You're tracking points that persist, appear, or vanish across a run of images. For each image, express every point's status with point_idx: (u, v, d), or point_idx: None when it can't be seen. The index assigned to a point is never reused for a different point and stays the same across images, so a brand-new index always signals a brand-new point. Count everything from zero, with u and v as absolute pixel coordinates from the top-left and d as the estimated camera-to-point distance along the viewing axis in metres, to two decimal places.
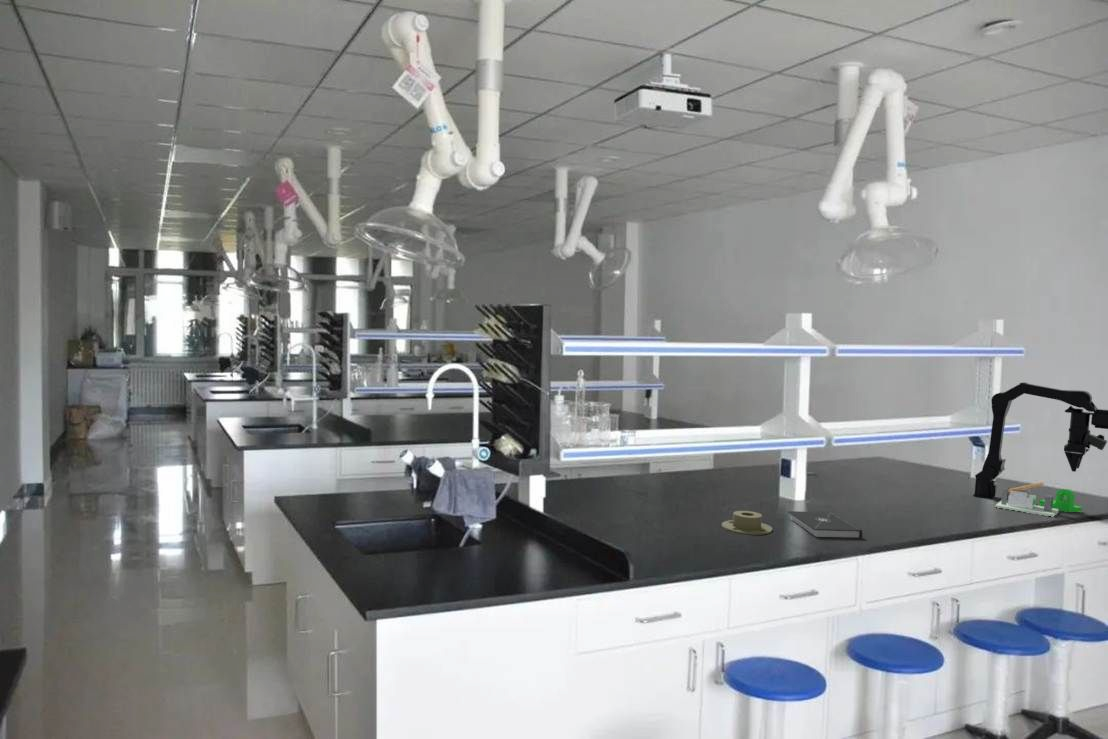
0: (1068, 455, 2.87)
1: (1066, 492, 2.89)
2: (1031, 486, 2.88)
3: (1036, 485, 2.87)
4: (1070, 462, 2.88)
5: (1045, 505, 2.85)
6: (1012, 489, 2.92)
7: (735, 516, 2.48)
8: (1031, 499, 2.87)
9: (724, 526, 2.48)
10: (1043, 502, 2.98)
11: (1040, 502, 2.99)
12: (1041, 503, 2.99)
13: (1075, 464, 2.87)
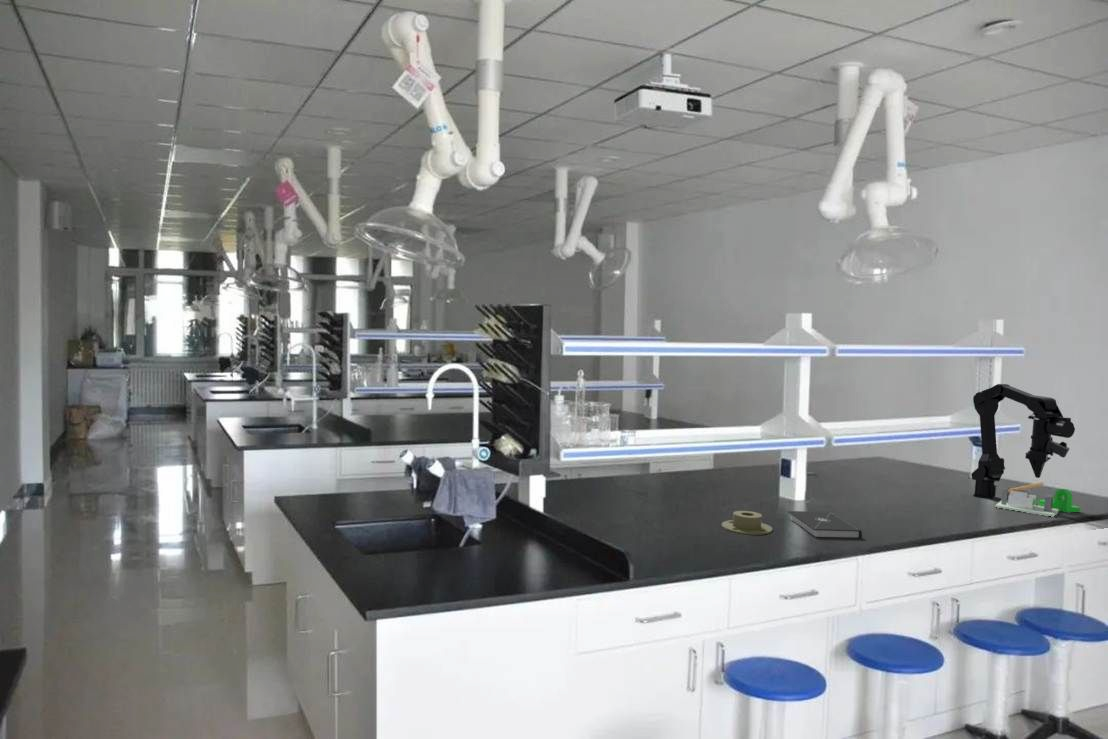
0: (1032, 461, 2.87)
1: (1064, 492, 2.89)
2: (1031, 486, 2.88)
3: (1036, 485, 2.87)
4: (1034, 468, 2.87)
5: (1045, 505, 2.85)
6: (1012, 489, 2.92)
7: (735, 516, 2.48)
8: (1031, 499, 2.87)
9: (724, 526, 2.48)
10: (1042, 502, 2.98)
11: (1039, 502, 2.99)
12: (1040, 503, 2.99)
13: (1039, 470, 2.86)
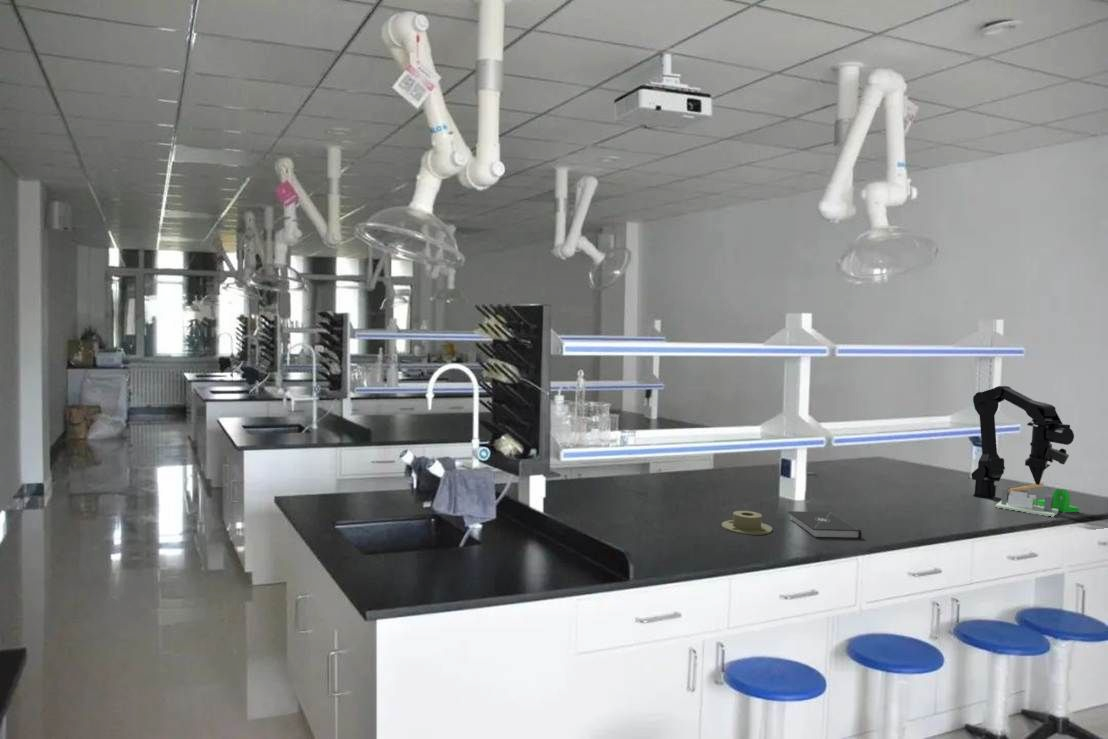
0: (1032, 468, 2.88)
1: (1062, 492, 2.89)
2: (1031, 487, 2.88)
3: (1036, 486, 2.87)
4: (1034, 475, 2.88)
5: (1045, 505, 2.85)
6: (1012, 489, 2.92)
7: (735, 516, 2.48)
8: (1031, 499, 2.87)
9: (724, 526, 2.48)
10: (1041, 502, 2.98)
11: (1038, 502, 2.99)
12: (1039, 503, 2.99)
13: (1039, 477, 2.87)
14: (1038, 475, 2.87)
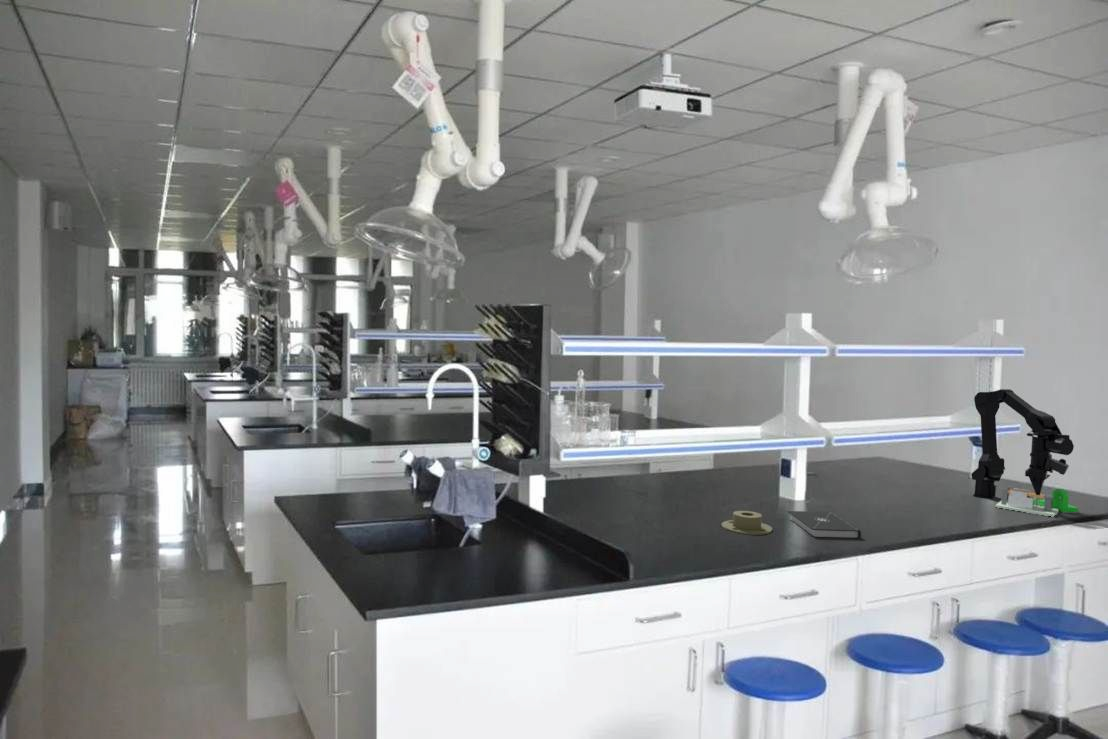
0: (1032, 478, 2.87)
1: (1060, 492, 2.89)
2: (1032, 495, 2.88)
3: (1038, 496, 2.87)
4: (1034, 485, 2.88)
5: (1045, 505, 2.85)
6: None
7: (735, 516, 2.48)
8: (1031, 499, 2.87)
9: (724, 526, 2.48)
10: (1041, 502, 2.98)
11: (1038, 502, 3.00)
12: (1039, 503, 2.99)
13: (1039, 487, 2.87)
14: (1038, 485, 2.87)
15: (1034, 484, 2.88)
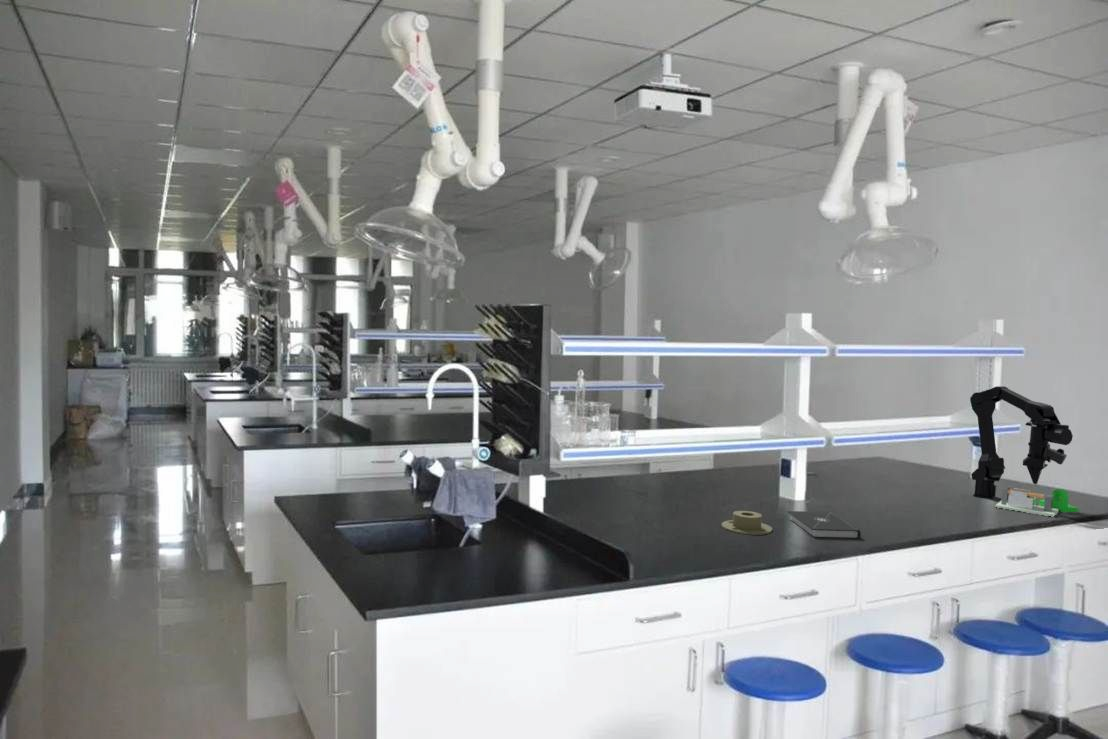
0: (1029, 468, 2.89)
1: (1060, 492, 2.89)
2: (1032, 495, 2.88)
3: (1038, 496, 2.87)
4: (1031, 475, 2.90)
5: (1045, 505, 2.85)
6: None
7: (735, 516, 2.48)
8: (1031, 499, 2.87)
9: (724, 526, 2.48)
10: (1041, 502, 2.98)
11: (1039, 502, 3.00)
12: (1040, 503, 2.99)
13: (1036, 477, 2.89)
14: (1036, 475, 2.89)
15: (1031, 473, 2.89)
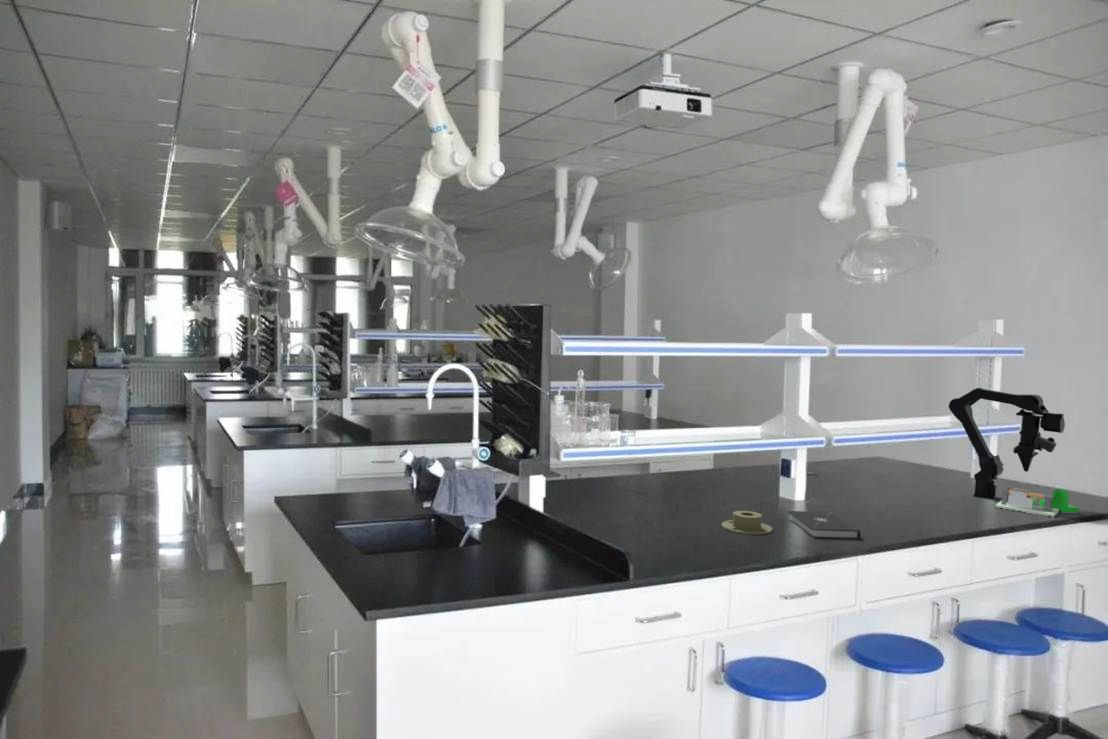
0: (1020, 456, 2.99)
1: (1060, 492, 2.89)
2: (1032, 495, 2.88)
3: (1038, 496, 2.87)
4: (1022, 462, 2.99)
5: (1045, 505, 2.85)
6: None
7: (735, 516, 2.48)
8: (1031, 499, 2.87)
9: (724, 526, 2.48)
10: (1042, 502, 2.98)
11: (1040, 502, 3.00)
12: (1040, 503, 2.99)
13: (1027, 464, 2.99)
14: (1026, 462, 2.99)
15: (1022, 461, 2.99)
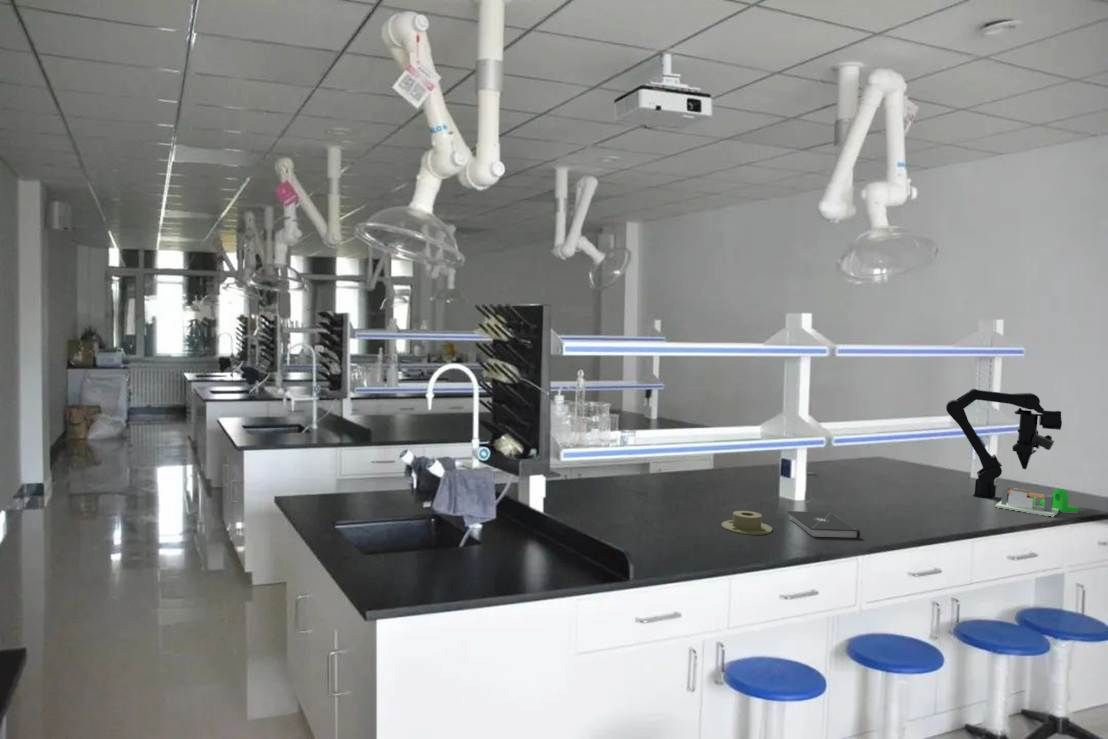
0: (1019, 453, 3.03)
1: (1060, 492, 2.89)
2: (1032, 495, 2.88)
3: (1038, 496, 2.87)
4: (1021, 460, 3.04)
5: (1045, 505, 2.85)
6: None
7: (735, 516, 2.48)
8: (1031, 499, 2.87)
9: (724, 526, 2.48)
10: (1043, 502, 2.99)
11: (1041, 502, 3.00)
12: (1041, 503, 2.99)
13: (1025, 462, 3.03)
14: (1025, 460, 3.03)
15: (1021, 459, 3.04)
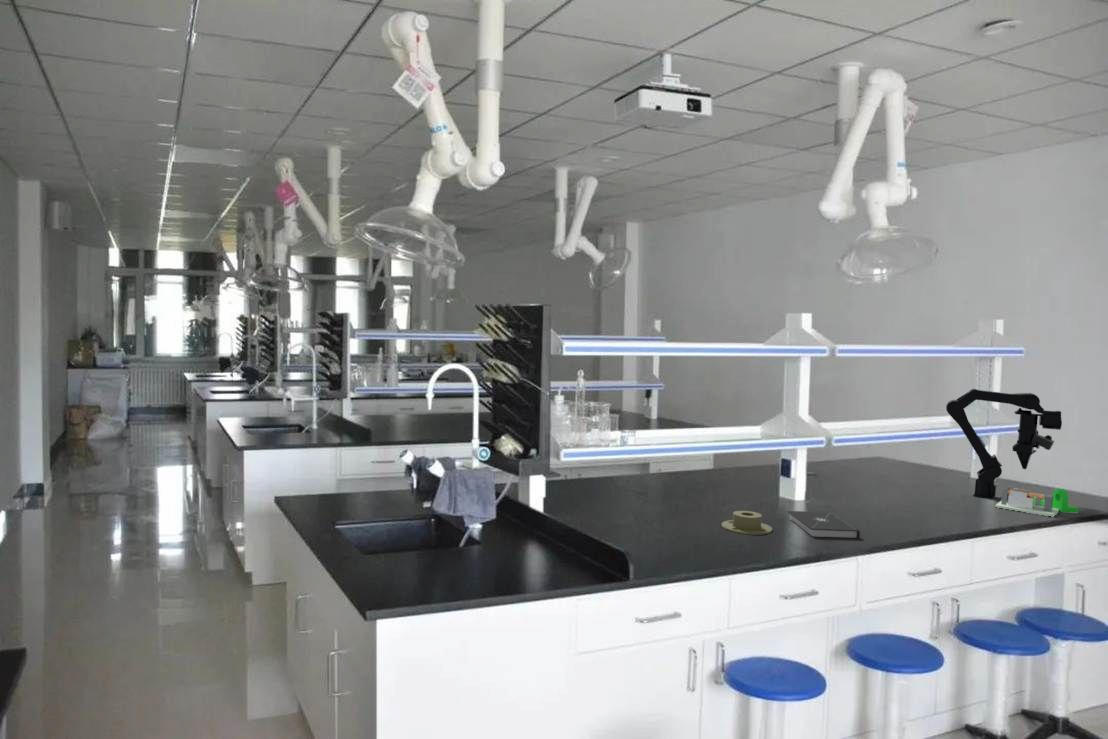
0: (1019, 453, 3.03)
1: (1060, 492, 2.90)
2: (1032, 495, 2.88)
3: (1038, 496, 2.87)
4: (1021, 460, 3.04)
5: (1045, 505, 2.85)
6: None
7: (735, 516, 2.48)
8: (1031, 499, 2.87)
9: (724, 526, 2.48)
10: (1043, 502, 2.99)
11: (1041, 502, 3.00)
12: (1042, 503, 2.99)
13: (1025, 462, 3.03)
14: (1025, 460, 3.03)
15: (1021, 459, 3.04)
